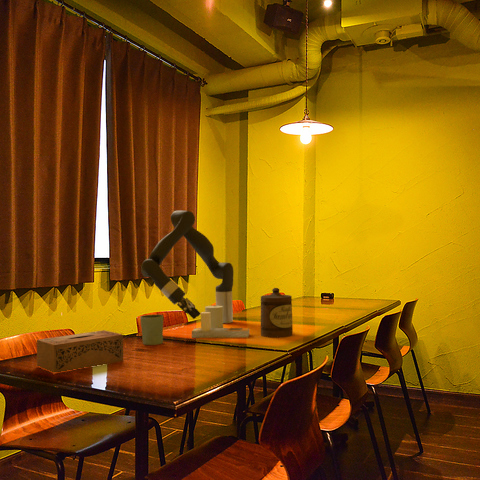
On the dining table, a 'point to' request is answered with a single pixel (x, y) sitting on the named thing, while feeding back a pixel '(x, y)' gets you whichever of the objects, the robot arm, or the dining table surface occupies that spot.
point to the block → (206, 321)
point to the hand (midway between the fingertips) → (197, 316)
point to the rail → (221, 333)
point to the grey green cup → (152, 329)
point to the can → (215, 316)
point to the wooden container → (276, 315)
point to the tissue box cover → (79, 350)
